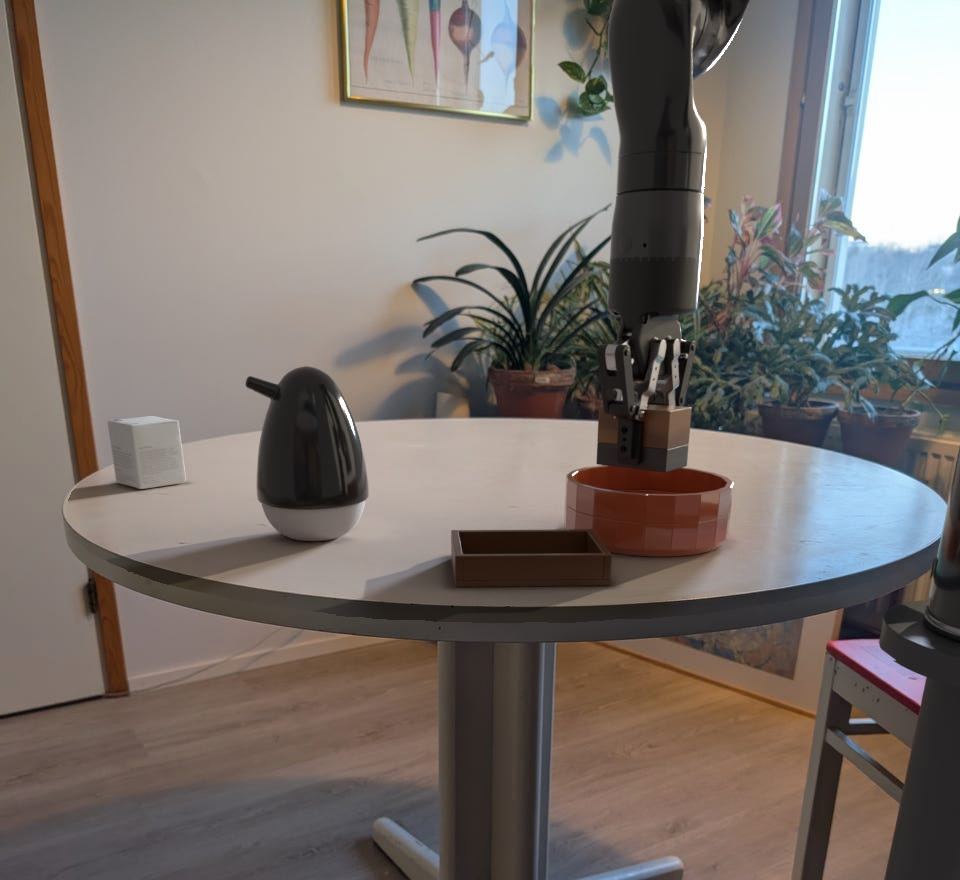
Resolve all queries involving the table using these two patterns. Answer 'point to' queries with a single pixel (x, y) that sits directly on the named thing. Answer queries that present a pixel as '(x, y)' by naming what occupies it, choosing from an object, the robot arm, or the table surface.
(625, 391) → the robot arm
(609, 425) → the eraser
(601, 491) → the bowl
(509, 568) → the tray
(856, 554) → the table surface
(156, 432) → the product carton
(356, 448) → the pump dispenser
